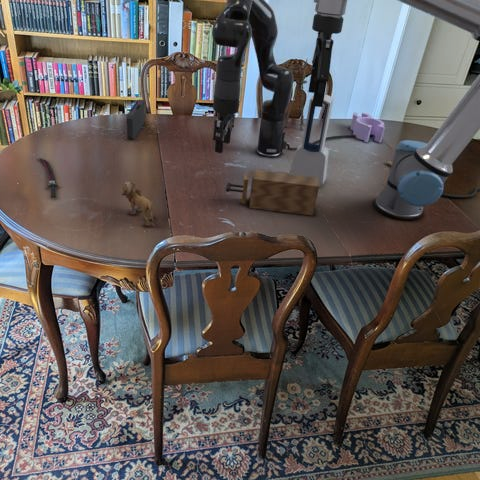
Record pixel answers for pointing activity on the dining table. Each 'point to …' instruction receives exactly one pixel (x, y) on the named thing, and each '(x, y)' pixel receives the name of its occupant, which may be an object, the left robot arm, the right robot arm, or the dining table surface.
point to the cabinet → (284, 192)
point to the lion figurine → (137, 201)
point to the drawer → (241, 187)
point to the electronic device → (313, 147)
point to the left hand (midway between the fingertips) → (222, 147)
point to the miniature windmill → (296, 68)
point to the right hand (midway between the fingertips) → (314, 99)
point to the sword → (52, 181)
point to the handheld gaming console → (135, 119)
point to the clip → (367, 127)
